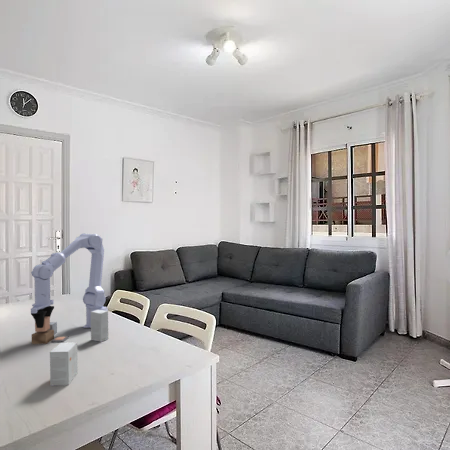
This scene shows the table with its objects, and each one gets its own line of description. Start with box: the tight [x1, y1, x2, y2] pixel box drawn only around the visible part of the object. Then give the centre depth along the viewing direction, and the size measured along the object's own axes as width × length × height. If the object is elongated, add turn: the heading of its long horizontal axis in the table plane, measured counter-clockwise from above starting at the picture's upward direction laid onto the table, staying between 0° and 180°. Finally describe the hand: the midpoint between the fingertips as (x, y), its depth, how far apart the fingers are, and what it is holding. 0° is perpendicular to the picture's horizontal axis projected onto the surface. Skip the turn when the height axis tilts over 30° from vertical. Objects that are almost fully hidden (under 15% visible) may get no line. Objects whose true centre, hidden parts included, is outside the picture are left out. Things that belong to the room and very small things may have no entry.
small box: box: [49, 341, 79, 387], centre depth 105 cm, size 8×6×10 cm
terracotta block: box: [34, 316, 51, 333], centre depth 138 cm, size 4×4×5 cm
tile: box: [50, 336, 70, 343], centre depth 140 cm, size 5×5×1 cm
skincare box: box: [90, 310, 109, 343], centre depth 140 cm, size 6×4×12 cm
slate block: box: [48, 321, 58, 336], centre depth 146 cm, size 4×4×5 cm
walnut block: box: [31, 330, 55, 345], centre depth 138 cm, size 6×6×4 cm
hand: (43, 325), depth 138 cm, fingers closed on terracotta block, 4 cm apart
